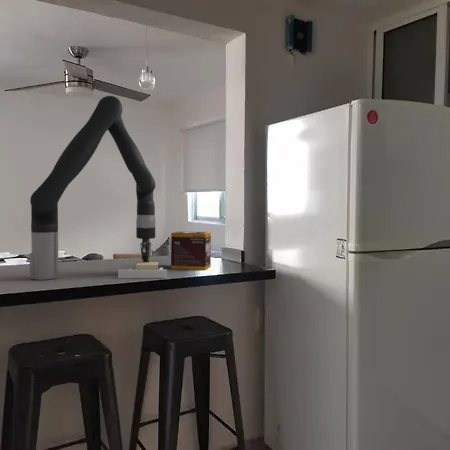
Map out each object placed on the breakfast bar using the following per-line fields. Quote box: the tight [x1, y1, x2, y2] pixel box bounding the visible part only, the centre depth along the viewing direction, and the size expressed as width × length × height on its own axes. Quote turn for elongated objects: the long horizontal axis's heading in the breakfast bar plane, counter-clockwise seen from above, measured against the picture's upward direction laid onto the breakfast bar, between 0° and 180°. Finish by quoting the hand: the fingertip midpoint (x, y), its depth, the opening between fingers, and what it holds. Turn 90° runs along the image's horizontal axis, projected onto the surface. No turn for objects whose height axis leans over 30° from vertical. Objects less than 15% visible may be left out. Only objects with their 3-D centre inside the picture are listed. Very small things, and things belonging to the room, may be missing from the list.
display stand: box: [117, 267, 168, 279], centre depth 174 cm, size 18×13×3 cm
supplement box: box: [170, 231, 212, 271], centre depth 194 cm, size 10×15×16 cm
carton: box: [135, 261, 159, 270], centre depth 173 cm, size 8×8×5 cm
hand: (146, 269), depth 179 cm, fingers closed
